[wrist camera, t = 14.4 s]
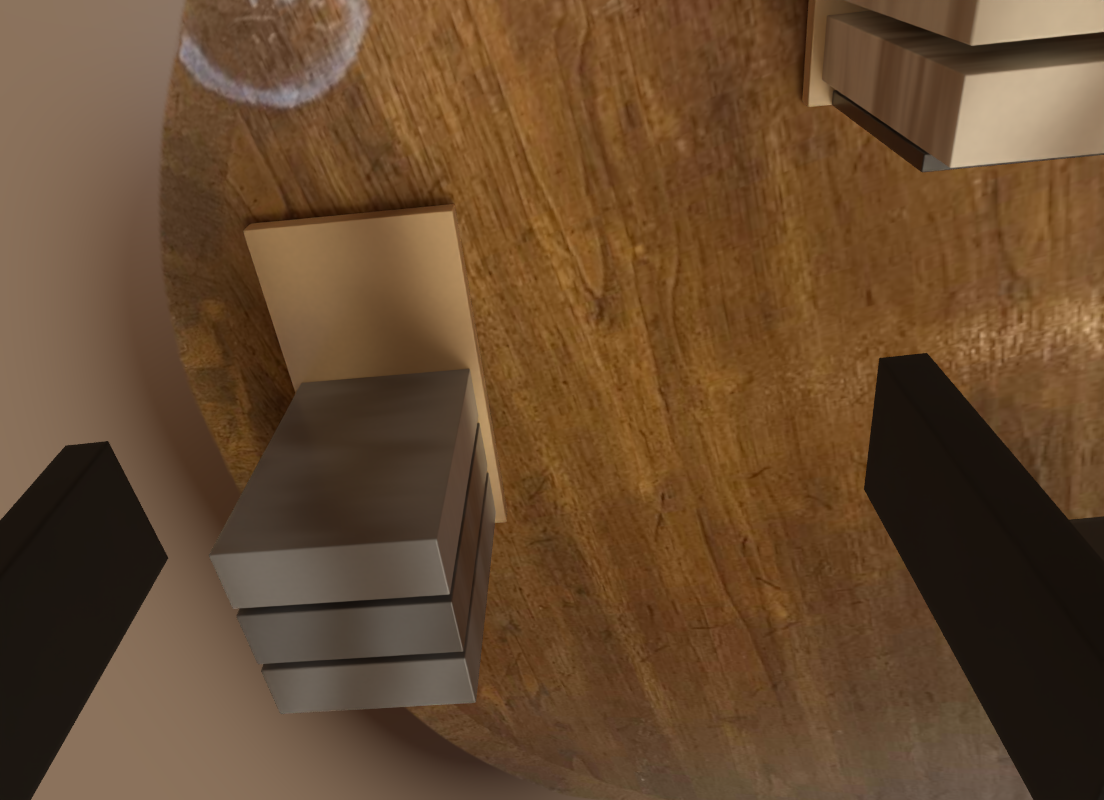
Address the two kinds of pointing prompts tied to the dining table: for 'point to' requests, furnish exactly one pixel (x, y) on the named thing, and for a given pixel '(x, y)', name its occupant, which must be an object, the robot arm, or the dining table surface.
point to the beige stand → (963, 77)
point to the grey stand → (368, 469)
